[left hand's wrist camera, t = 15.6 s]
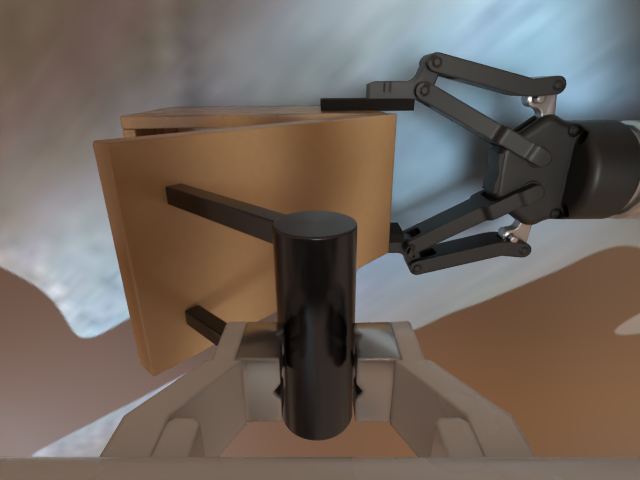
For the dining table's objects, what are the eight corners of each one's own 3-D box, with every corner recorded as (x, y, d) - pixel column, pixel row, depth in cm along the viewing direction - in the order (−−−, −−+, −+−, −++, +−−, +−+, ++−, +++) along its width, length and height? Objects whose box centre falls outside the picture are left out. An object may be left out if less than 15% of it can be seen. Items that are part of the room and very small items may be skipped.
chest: (183, 210, 37) (145, 254, 27) (168, 107, 34) (119, 116, 24) (357, 205, 38) (379, 246, 28) (359, 104, 35) (386, 112, 25)
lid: (139, 364, 17) (295, 519, 11) (91, 140, 13) (279, 183, 7) (374, 248, 28) (512, 291, 22) (380, 113, 25) (545, 120, 19)
